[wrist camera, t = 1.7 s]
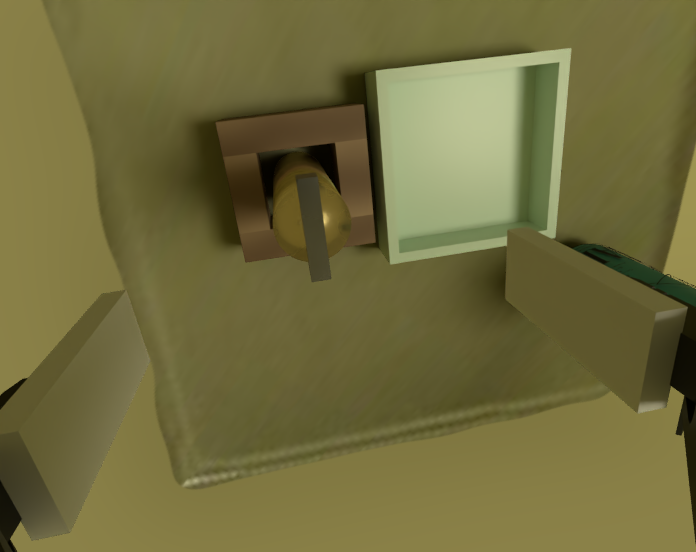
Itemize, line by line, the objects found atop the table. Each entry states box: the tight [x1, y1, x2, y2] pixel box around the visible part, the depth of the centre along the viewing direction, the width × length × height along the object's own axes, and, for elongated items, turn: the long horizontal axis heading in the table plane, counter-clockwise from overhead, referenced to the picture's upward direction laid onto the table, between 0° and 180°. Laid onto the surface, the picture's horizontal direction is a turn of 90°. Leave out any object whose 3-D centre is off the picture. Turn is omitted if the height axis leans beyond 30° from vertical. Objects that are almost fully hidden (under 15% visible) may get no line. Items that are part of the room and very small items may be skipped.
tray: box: [364, 48, 571, 264], centre depth 35 cm, size 14×14×4 cm
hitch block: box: [215, 103, 376, 262], centre depth 33 cm, size 10×10×4 cm
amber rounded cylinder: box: [273, 152, 351, 282], centre depth 28 cm, size 5×4×15 cm
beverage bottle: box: [572, 244, 696, 307], centre depth 33 cm, size 6×7×20 cm
